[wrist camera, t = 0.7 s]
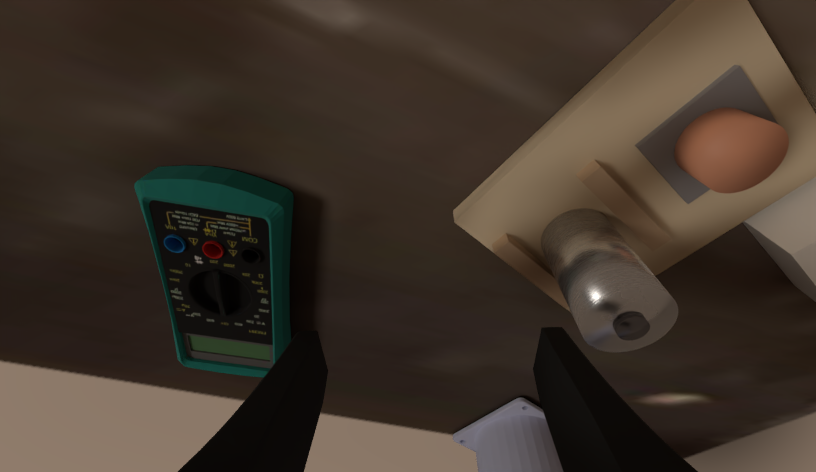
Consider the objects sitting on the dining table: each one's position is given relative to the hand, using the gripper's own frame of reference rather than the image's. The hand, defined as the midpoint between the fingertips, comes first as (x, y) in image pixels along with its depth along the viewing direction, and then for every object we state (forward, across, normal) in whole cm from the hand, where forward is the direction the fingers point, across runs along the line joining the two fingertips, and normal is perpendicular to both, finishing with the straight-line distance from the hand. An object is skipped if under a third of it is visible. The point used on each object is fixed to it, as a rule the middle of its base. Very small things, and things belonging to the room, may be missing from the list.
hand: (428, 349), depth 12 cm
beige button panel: (+10, -10, -1) cm, 14 cm away
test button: (+8, -13, -4) cm, 16 cm away
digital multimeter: (+10, +12, +5) cm, 17 cm away
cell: (+8, -8, +2) cm, 12 cm away
